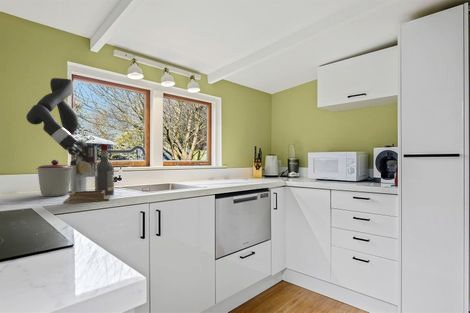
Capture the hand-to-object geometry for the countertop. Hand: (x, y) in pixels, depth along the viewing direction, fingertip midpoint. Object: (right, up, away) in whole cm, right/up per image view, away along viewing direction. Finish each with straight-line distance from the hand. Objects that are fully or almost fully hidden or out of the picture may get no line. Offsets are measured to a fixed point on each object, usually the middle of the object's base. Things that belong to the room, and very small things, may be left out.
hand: (90, 161), depth 146 cm
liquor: (-1, -20, +19) cm, 28 cm away
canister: (-30, -21, +18) cm, 41 cm away
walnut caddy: (-1, -20, 0) cm, 20 cm away
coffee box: (-1, -8, -1) cm, 8 cm away
